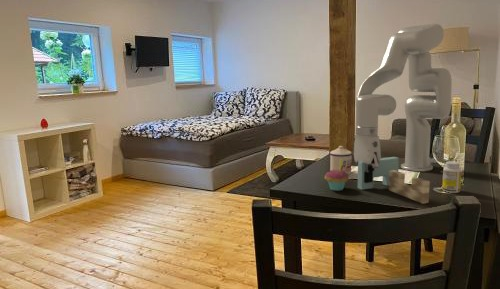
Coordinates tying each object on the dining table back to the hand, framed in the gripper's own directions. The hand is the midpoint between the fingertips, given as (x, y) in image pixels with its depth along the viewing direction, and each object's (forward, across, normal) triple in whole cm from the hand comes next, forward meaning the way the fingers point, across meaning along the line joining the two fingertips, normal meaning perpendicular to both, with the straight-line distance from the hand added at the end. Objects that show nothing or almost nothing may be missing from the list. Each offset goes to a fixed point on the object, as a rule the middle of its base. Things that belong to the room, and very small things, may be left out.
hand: (365, 180), depth 135 cm
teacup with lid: (+3, +23, -5) cm, 24 cm away
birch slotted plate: (+3, -13, -7) cm, 15 cm away
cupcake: (+3, +4, +10) cm, 11 cm away
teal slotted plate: (+3, 0, -5) cm, 6 cm away
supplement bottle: (+3, -15, -24) cm, 29 cm away
